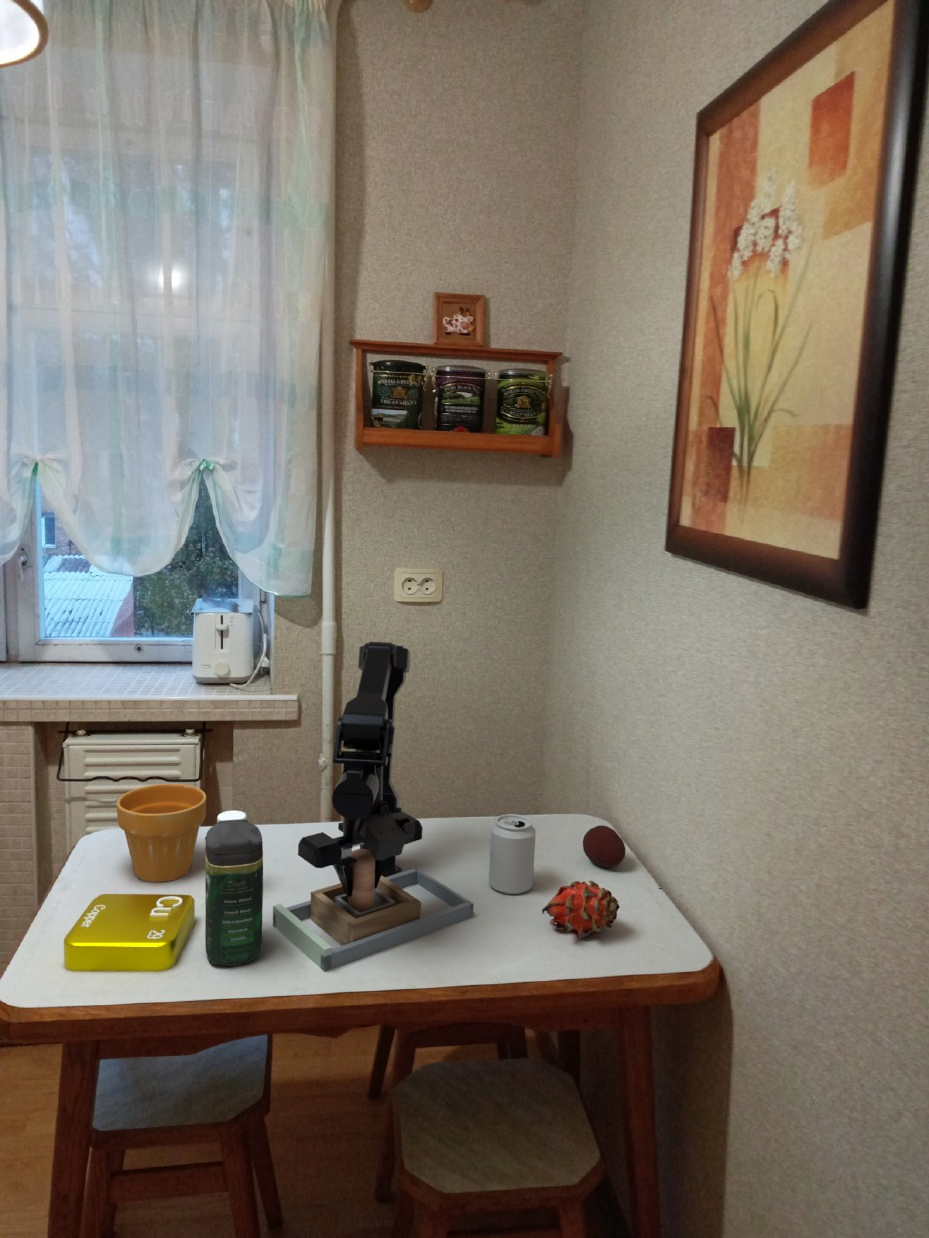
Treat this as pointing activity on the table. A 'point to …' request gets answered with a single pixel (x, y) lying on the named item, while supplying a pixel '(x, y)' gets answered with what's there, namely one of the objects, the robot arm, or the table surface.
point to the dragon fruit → (582, 908)
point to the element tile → (130, 933)
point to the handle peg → (363, 881)
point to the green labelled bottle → (233, 892)
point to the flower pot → (161, 828)
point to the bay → (330, 958)
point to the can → (512, 854)
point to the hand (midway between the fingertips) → (361, 891)
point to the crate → (353, 925)
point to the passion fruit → (604, 846)
